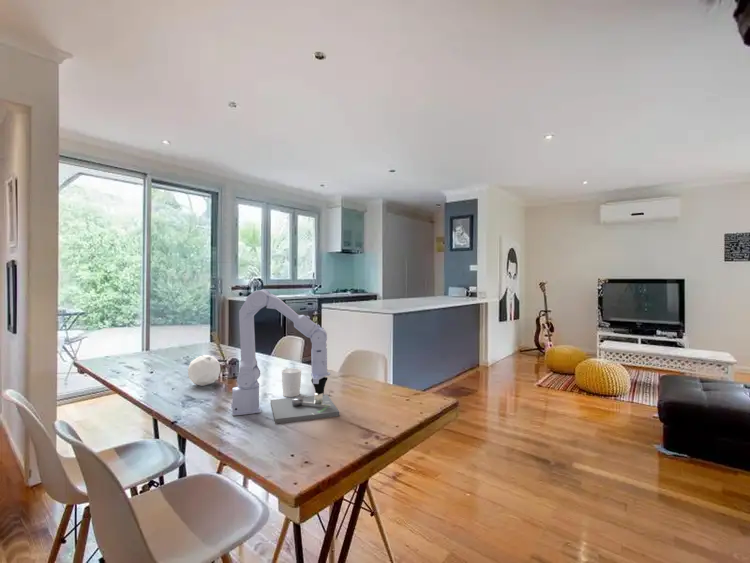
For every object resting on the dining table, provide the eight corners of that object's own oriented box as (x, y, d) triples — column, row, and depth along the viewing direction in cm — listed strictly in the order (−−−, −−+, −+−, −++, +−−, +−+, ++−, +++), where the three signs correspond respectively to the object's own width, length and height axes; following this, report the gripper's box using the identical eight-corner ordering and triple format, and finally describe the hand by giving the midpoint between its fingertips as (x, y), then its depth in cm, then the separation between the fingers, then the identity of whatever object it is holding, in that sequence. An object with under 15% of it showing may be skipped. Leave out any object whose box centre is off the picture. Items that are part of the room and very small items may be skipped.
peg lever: (290, 405, 136) (290, 393, 136) (294, 402, 140) (294, 390, 140) (328, 408, 133) (328, 396, 133) (332, 404, 137) (332, 392, 137)
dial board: (275, 423, 124) (275, 418, 124) (270, 403, 143) (270, 399, 143) (339, 416, 131) (339, 411, 131) (327, 398, 150) (327, 394, 150)
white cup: (296, 398, 150) (296, 373, 150) (278, 396, 151) (278, 372, 151) (304, 392, 157) (304, 368, 157) (286, 391, 159) (286, 367, 159)
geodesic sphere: (233, 370, 169) (219, 345, 172) (210, 378, 157) (195, 350, 160) (214, 386, 174) (200, 361, 177) (190, 395, 161) (175, 368, 164)
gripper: (326, 366, 130) (327, 404, 131) (333, 356, 145) (333, 391, 145) (306, 365, 131) (307, 404, 131) (315, 356, 145) (315, 391, 145)
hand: (319, 397), depth 138 cm, fingers closed, pressing on peg lever
